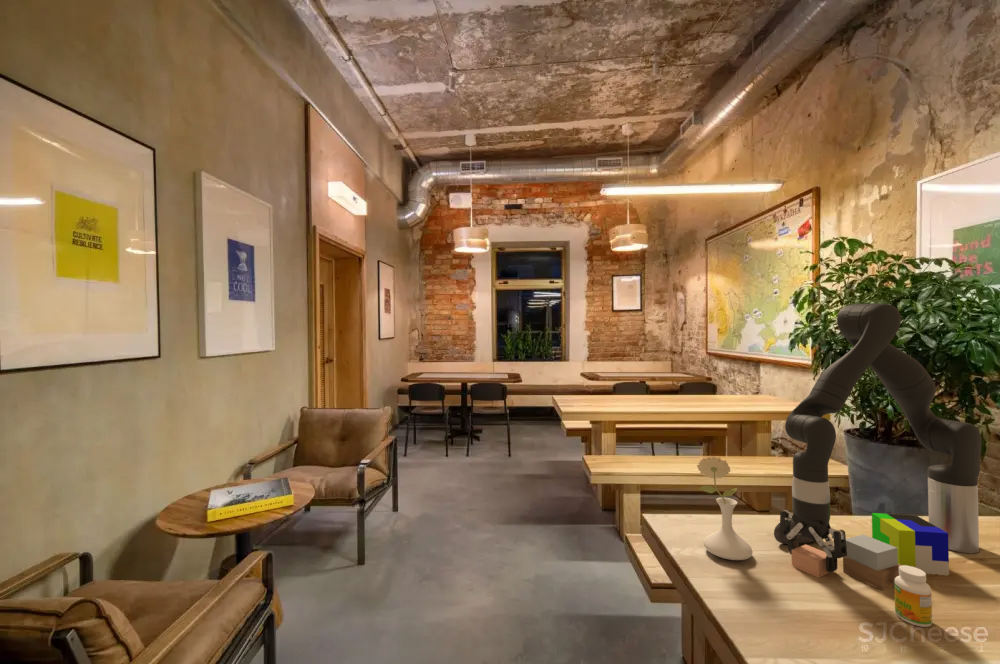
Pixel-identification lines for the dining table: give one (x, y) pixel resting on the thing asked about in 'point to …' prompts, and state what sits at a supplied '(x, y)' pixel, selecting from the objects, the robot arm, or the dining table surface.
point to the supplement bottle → (913, 596)
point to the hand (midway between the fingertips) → (811, 562)
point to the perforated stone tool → (783, 538)
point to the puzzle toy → (914, 541)
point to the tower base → (871, 573)
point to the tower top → (871, 552)
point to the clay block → (810, 560)
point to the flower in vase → (723, 515)
